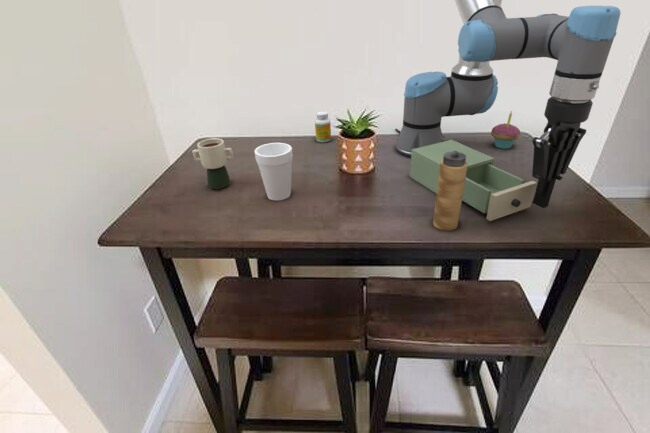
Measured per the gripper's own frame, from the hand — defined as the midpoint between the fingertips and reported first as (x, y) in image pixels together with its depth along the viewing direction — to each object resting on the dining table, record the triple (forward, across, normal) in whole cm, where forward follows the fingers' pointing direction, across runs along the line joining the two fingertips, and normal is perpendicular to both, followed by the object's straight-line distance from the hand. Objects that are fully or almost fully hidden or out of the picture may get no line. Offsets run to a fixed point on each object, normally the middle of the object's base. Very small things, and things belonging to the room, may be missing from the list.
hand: (540, 204), depth 85 cm
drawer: (+3, -5, +10) cm, 11 cm away
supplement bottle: (+4, -20, +72) cm, 75 cm away
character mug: (+4, -61, +55) cm, 82 cm away
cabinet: (+4, -5, +24) cm, 25 cm away
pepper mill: (+4, -19, +8) cm, 21 cm away
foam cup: (+4, -48, +41) cm, 63 cm away
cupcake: (+4, +27, +35) cm, 45 cm away
